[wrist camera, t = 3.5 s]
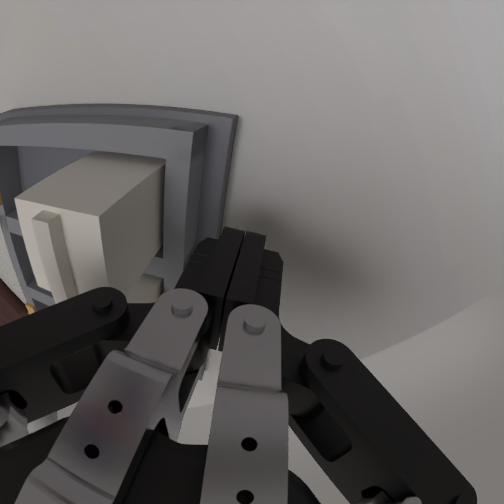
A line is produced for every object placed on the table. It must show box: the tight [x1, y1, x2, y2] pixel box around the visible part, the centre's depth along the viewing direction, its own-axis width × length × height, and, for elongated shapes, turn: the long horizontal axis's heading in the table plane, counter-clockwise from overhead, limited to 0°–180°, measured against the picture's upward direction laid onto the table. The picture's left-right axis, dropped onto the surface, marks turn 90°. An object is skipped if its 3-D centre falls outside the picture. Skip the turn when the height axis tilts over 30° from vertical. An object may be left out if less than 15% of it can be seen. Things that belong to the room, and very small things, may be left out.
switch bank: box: [0, 104, 238, 381], centre depth 17 cm, size 16×20×4 cm
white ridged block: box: [14, 150, 166, 304], centre depth 11 cm, size 4×4×7 cm
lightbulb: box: [27, 411, 57, 433], centre depth 27 cm, size 6×6×11 cm
